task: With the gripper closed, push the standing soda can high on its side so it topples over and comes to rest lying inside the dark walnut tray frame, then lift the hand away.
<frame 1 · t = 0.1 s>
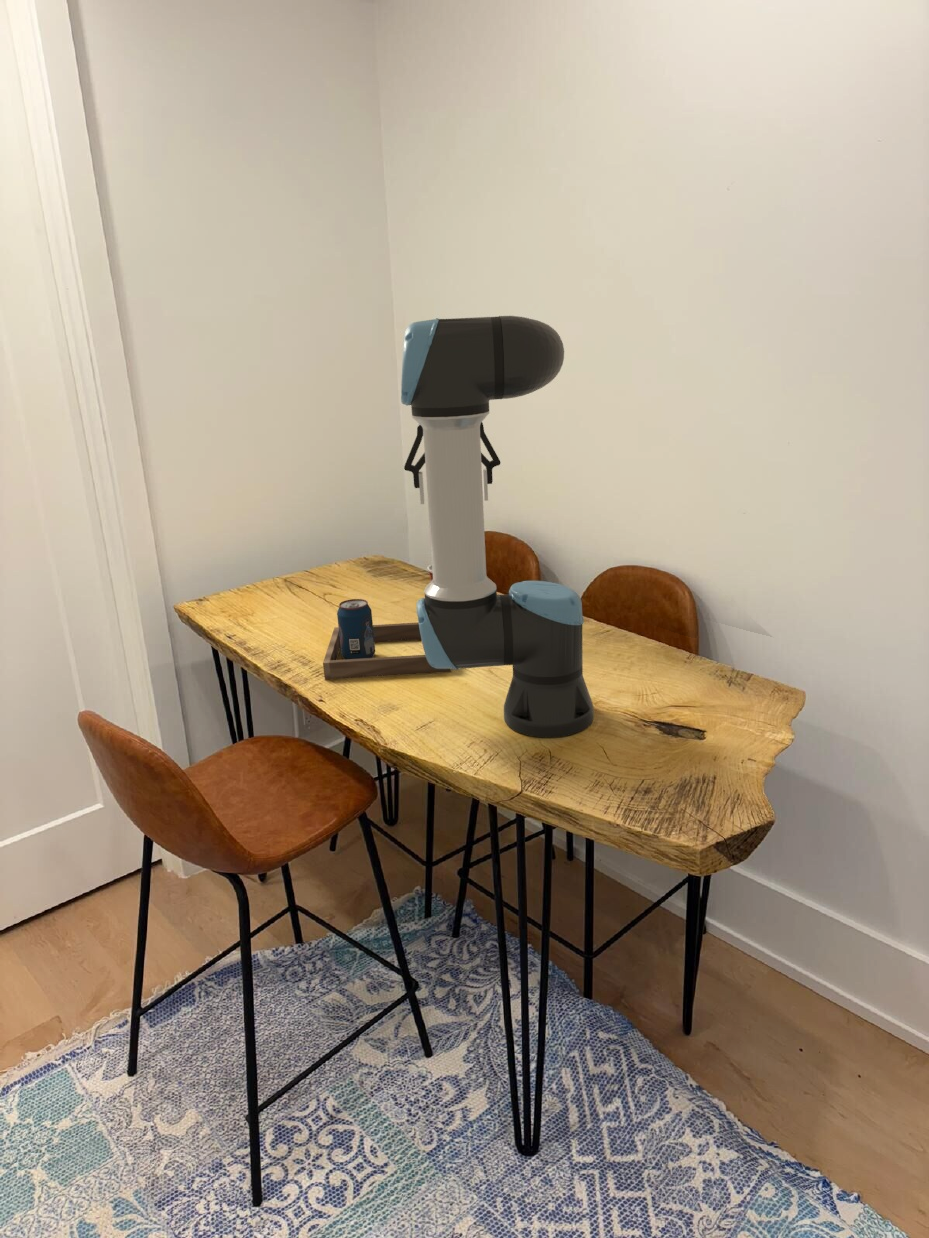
hand: (454, 501, 179), 28 cm above the table, fingers open, 13 cm apart
plastic cup: (453, 616, 194), on the table
soda can: (359, 659, 172), resting in walnut tray frame
walnut tray frame: (390, 656, 172), on the table
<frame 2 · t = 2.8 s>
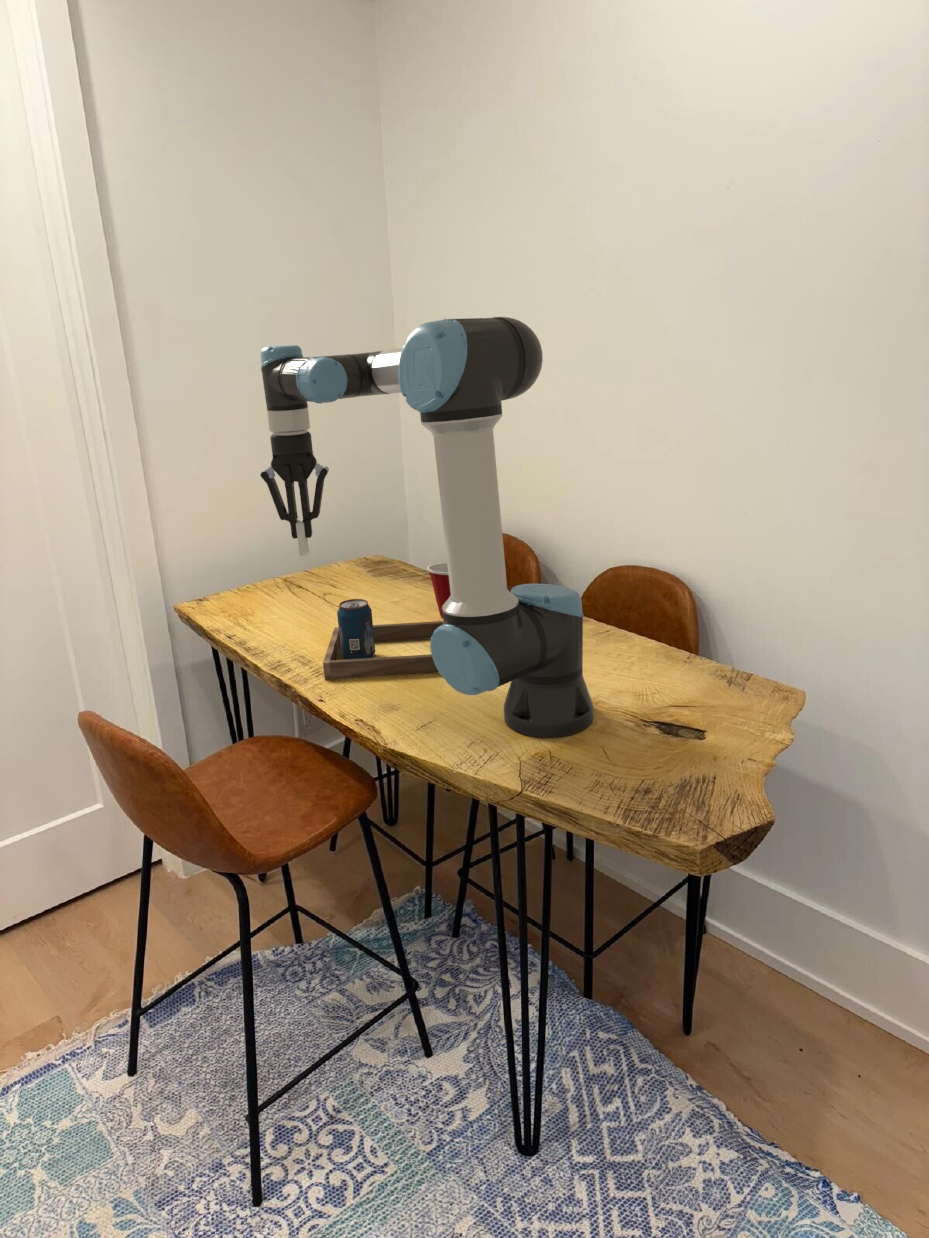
hand: (304, 553, 164), 23 cm above the table, fingers closed
nothing on the table moved.
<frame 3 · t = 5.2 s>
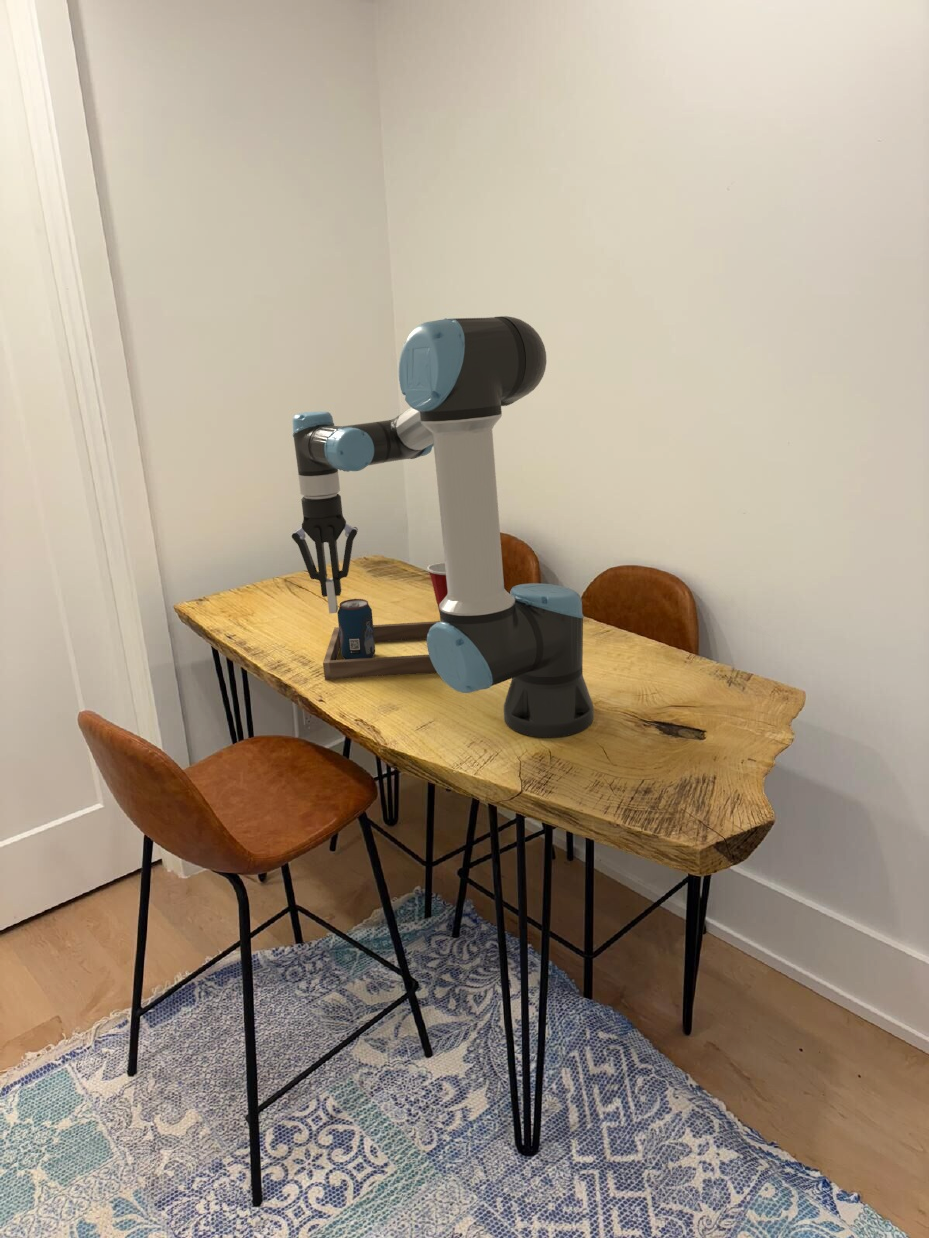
hand: (333, 610, 168), 11 cm above the table, fingers closed
soda can: (359, 659, 172), resting in walnut tray frame, touching gripper
everything else where it was.
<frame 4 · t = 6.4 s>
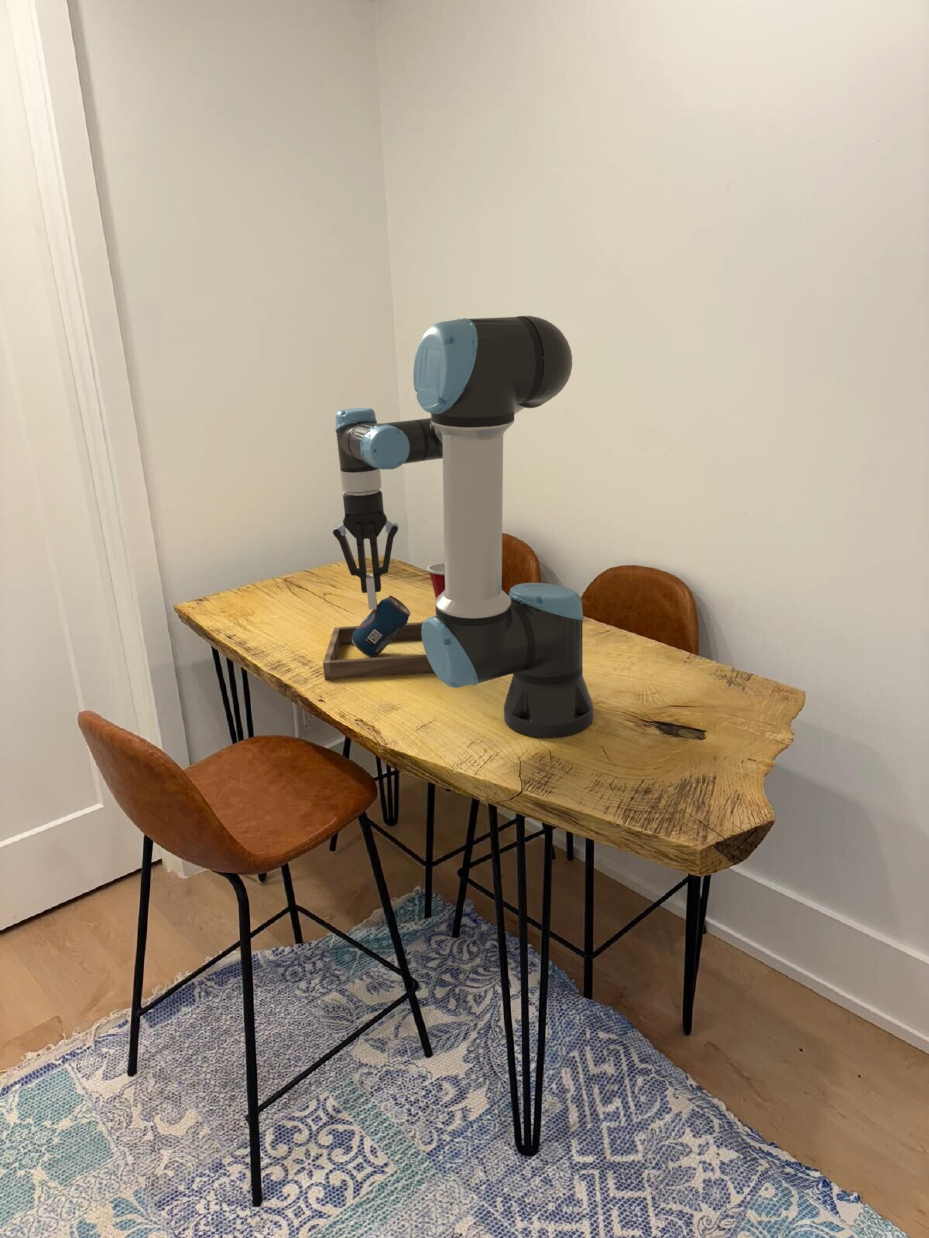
hand: (373, 607, 168), 11 cm above the table, fingers closed
soda can: (361, 648, 171), point 2 cm above the table, touching gripper
everything else where it was.
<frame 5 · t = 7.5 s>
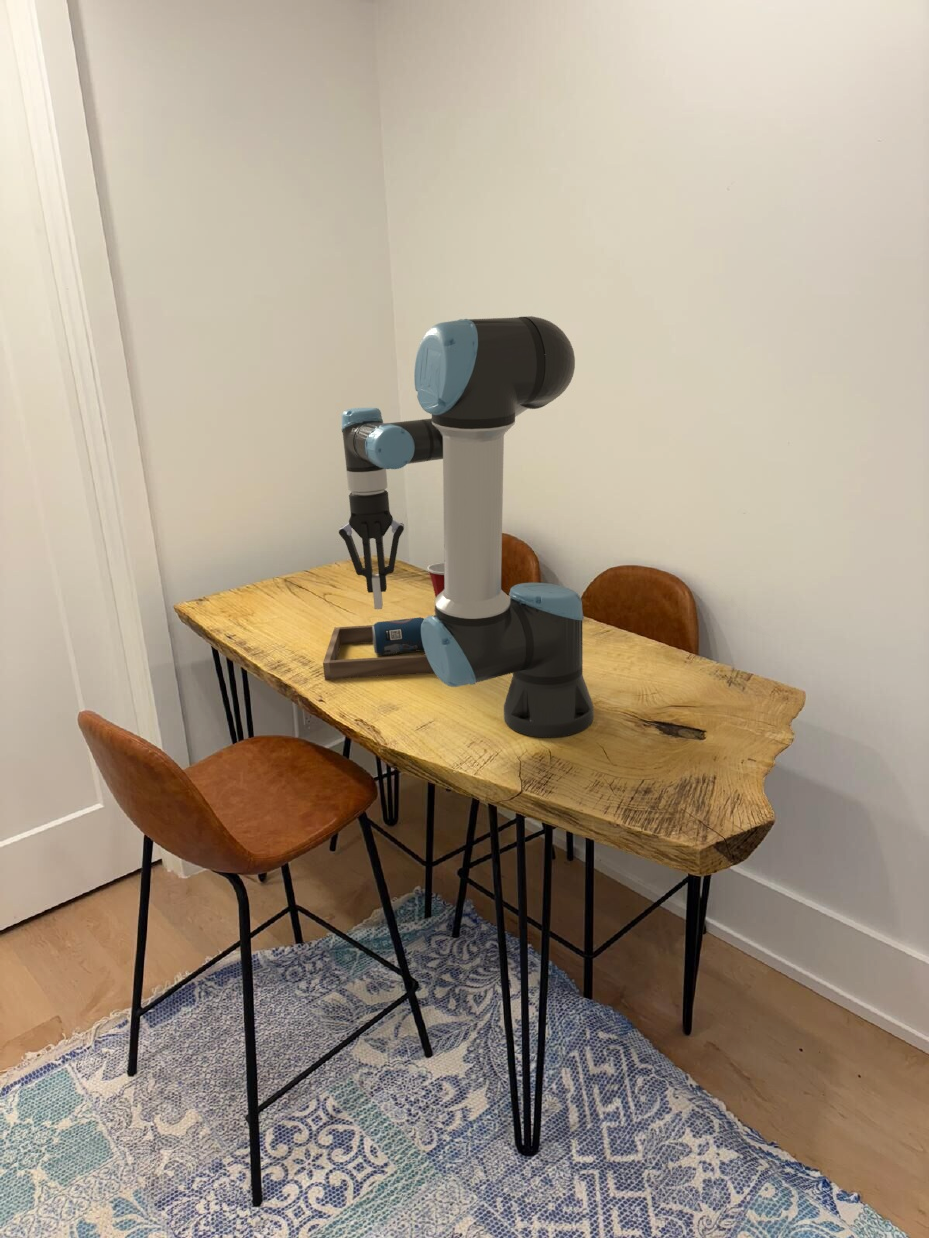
hand: (378, 606, 168), 11 cm above the table, fingers closed
soda can: (372, 639, 172), point 3 cm above the table
everything else where it was.
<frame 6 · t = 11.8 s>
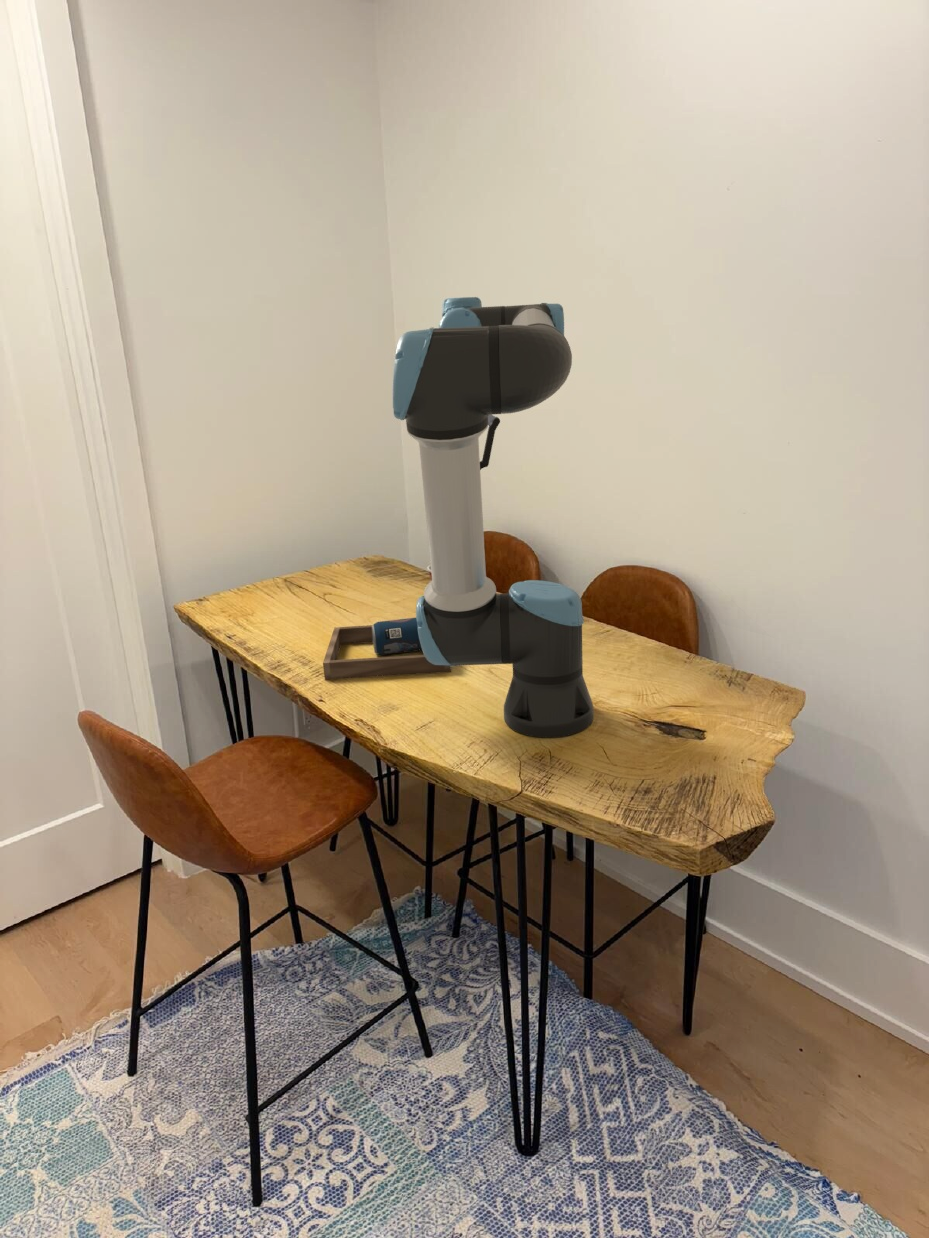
hand: (471, 502, 170), 29 cm above the table, fingers closed
nothing on the table moved.
at the end: soda can tilted 90°; soda can inside the target area (4.0 cm from its centre), point 3.4 cm above the table; soda can moved 4.8 cm from its start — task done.
